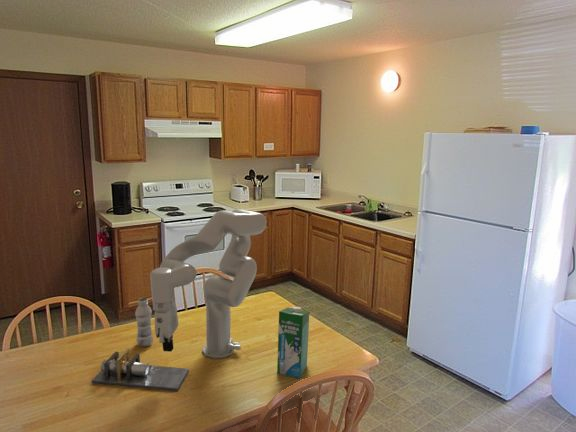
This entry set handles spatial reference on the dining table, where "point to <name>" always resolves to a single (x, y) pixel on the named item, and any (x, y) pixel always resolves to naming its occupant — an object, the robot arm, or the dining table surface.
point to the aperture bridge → (122, 357)
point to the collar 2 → (128, 366)
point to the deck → (147, 378)
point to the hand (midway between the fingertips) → (168, 350)
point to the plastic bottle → (144, 323)
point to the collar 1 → (106, 364)
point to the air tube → (135, 367)
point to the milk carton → (293, 341)
